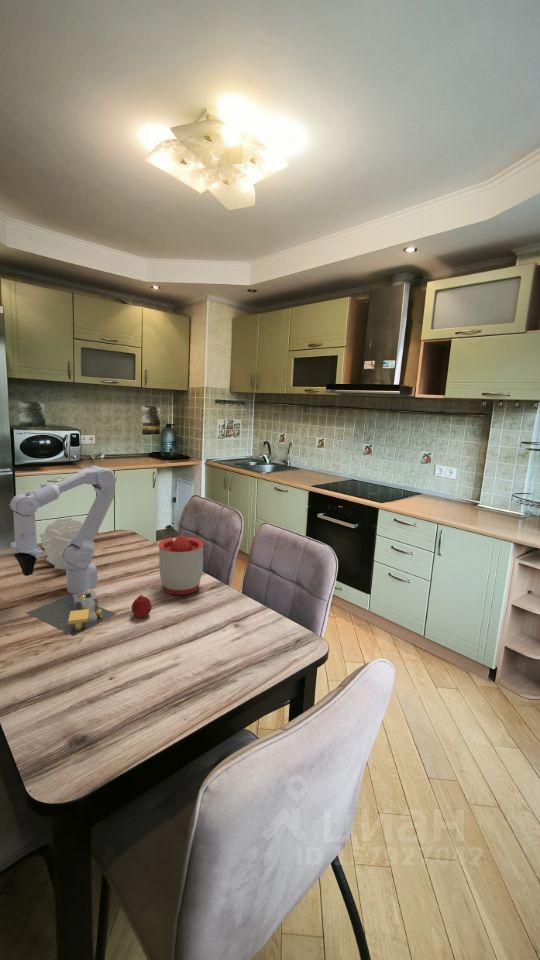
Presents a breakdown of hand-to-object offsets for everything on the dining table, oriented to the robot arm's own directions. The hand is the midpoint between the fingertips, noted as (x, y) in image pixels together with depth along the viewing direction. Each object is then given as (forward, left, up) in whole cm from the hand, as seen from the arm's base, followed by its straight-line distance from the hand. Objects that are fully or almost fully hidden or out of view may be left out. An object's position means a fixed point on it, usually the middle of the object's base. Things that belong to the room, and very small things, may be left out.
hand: (28, 574), depth 130 cm
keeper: (0, +24, -10) cm, 26 cm away
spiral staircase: (-28, -22, -11) cm, 37 cm away
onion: (-14, +35, -11) cm, 39 cm away
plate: (-3, +17, -10) cm, 20 cm away
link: (-7, +19, -10) cm, 23 cm away
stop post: (-7, +25, -10) cm, 28 cm away
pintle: (-8, +15, -10) cm, 20 cm away
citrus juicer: (-37, +30, -11) cm, 49 cm away
